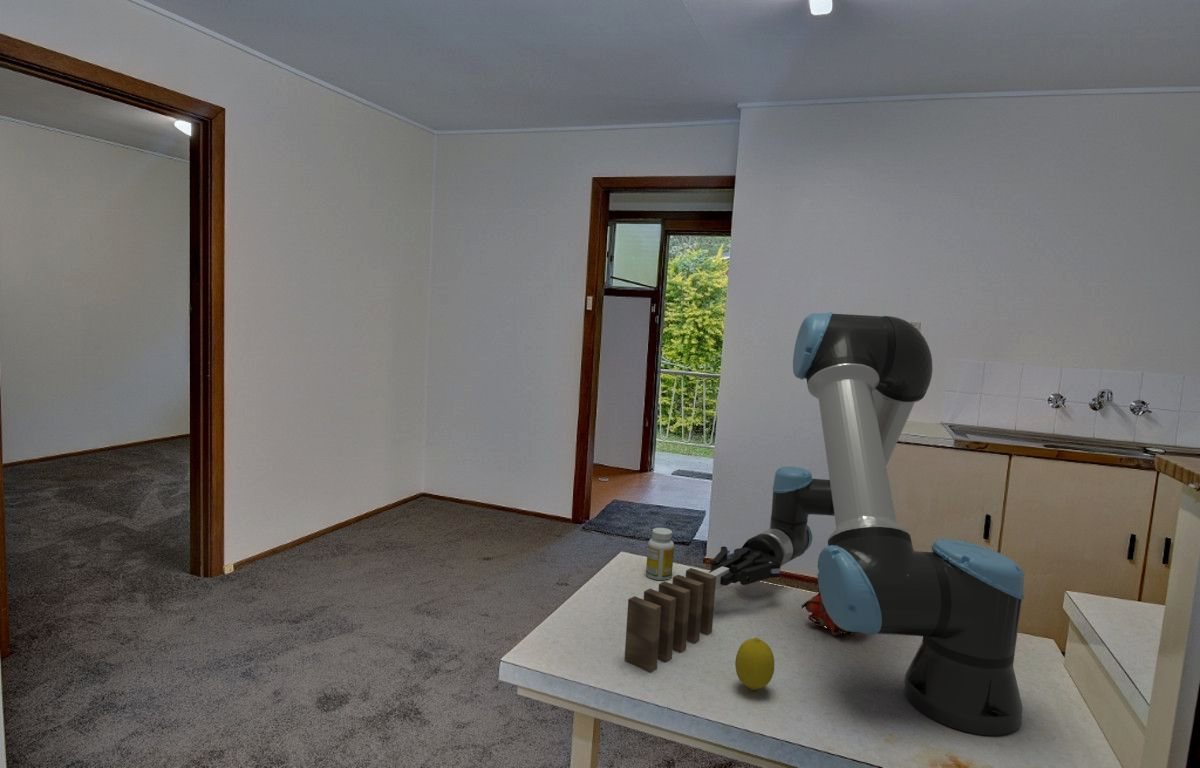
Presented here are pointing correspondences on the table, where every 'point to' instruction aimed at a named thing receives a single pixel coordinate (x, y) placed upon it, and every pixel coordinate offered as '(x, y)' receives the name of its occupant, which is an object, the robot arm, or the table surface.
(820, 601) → the dragon fruit
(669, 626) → the domino
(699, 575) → the domino
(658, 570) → the supplement bottle
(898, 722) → the table surface
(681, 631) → the domino
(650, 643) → the domino
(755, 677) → the lemon
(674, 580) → the domino
